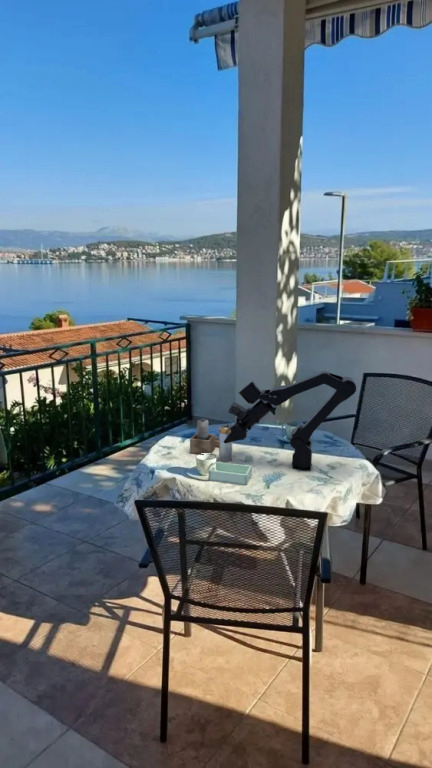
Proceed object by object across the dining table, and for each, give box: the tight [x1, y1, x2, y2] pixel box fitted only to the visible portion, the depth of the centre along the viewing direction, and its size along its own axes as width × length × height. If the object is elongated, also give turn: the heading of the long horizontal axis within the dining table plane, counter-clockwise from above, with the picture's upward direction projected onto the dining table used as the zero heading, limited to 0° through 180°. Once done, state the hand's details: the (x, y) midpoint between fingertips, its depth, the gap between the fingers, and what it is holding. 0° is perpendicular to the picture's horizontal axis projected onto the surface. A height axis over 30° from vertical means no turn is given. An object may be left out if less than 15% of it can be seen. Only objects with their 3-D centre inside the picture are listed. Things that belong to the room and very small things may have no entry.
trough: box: [208, 461, 253, 486], centre depth 173 cm, size 13×9×4 cm, turn 74°
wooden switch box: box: [215, 436, 219, 449], centre depth 205 cm, size 8×6×3 cm
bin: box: [189, 418, 216, 455], centre depth 197 cm, size 8×8×13 cm
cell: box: [218, 423, 233, 463], centre depth 188 cm, size 5×5×14 cm
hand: (226, 438), depth 188 cm, fingers open, 9 cm apart
